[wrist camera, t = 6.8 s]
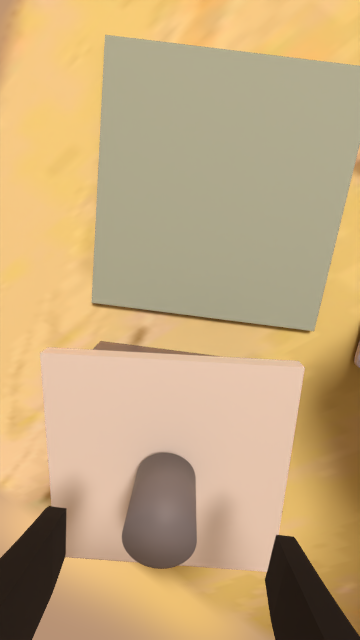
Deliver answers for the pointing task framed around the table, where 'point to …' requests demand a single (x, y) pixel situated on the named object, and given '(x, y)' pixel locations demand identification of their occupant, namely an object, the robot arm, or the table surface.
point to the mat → (221, 180)
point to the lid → (169, 454)
